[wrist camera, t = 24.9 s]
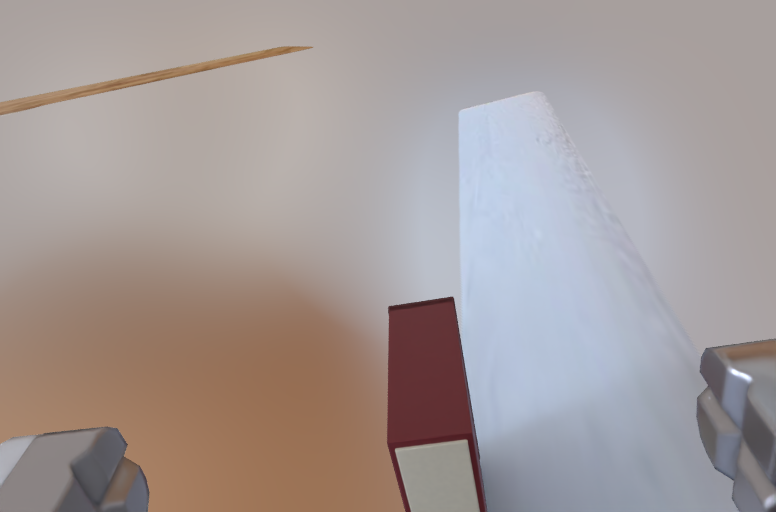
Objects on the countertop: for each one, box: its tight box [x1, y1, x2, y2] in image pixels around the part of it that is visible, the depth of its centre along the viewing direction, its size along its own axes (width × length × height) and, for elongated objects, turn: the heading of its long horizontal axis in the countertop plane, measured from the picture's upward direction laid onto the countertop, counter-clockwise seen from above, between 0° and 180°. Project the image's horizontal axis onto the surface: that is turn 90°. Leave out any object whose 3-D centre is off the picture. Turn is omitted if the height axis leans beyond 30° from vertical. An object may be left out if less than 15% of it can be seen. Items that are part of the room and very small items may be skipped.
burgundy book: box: [387, 297, 487, 512], centre depth 36 cm, size 4×11×14 cm, turn 179°
